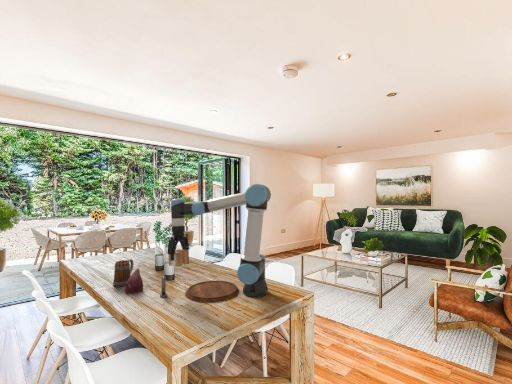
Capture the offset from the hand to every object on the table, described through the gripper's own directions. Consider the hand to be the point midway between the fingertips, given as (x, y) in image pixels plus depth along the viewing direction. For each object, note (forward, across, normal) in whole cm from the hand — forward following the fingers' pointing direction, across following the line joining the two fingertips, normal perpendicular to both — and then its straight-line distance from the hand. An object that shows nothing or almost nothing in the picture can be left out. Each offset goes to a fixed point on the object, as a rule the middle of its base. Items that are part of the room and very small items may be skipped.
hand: (179, 264), depth 157 cm
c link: (0, 0, 0) cm, 0 cm away
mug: (+17, +1, -48) cm, 51 cm away
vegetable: (+18, +8, -30) cm, 36 cm away
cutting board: (+19, -13, +14) cm, 27 cm away
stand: (+18, +6, -7) cm, 20 cm away
